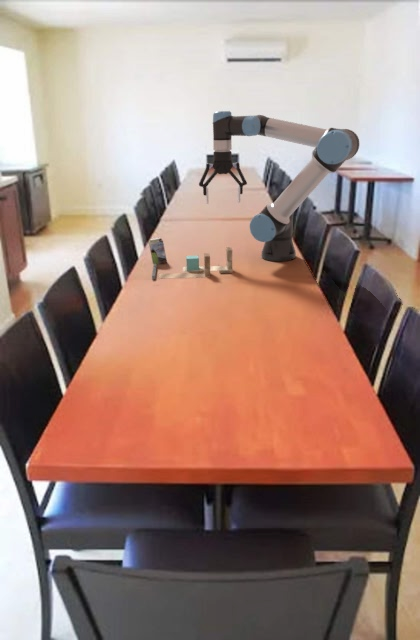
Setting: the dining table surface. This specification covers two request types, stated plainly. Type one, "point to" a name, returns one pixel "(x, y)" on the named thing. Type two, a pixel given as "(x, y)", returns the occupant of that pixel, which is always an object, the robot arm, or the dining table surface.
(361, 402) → the dining table surface
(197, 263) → the block
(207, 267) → the strip oak
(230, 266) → the beige long angled piece
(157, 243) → the beverage can
